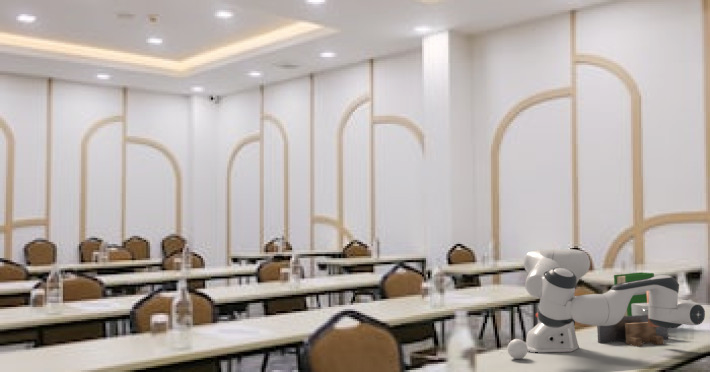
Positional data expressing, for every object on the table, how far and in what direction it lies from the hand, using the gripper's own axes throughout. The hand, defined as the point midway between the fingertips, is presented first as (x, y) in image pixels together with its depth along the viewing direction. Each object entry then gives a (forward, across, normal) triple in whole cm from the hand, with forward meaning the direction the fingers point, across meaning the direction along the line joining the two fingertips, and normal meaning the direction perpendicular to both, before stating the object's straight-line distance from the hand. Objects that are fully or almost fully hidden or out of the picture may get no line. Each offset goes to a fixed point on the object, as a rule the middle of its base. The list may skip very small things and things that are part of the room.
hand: (651, 305), depth 285 cm
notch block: (+6, 0, -16) cm, 17 cm away
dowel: (-1, 0, -8) cm, 8 cm away
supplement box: (+29, +14, -16) cm, 36 cm away
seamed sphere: (-6, -59, -16) cm, 62 cm away
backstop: (+14, 0, -16) cm, 22 cm away
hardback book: (+46, +20, -16) cm, 53 cm away
